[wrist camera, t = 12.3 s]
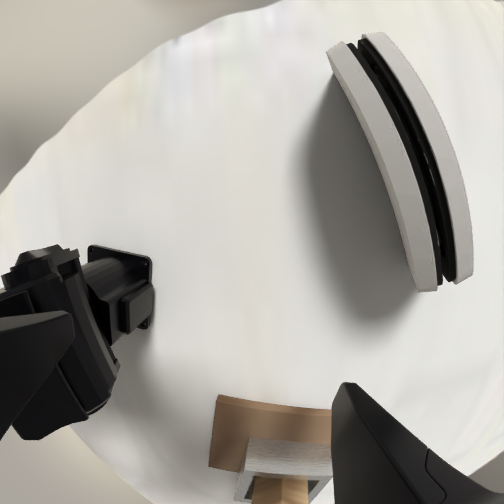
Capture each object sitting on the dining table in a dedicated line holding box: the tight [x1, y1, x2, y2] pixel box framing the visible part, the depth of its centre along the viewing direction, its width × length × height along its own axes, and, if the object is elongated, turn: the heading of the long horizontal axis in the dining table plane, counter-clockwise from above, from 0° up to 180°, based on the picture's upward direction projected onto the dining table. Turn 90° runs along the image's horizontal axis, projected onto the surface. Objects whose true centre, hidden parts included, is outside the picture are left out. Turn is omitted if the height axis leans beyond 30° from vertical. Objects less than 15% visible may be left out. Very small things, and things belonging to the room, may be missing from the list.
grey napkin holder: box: [326, 32, 473, 292], centre depth 14 cm, size 17×5×10 cm, turn 23°
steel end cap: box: [234, 436, 333, 504], centre depth 21 cm, size 8×8×4 cm
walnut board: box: [208, 395, 332, 472], centre depth 23 cm, size 14×13×1 cm
